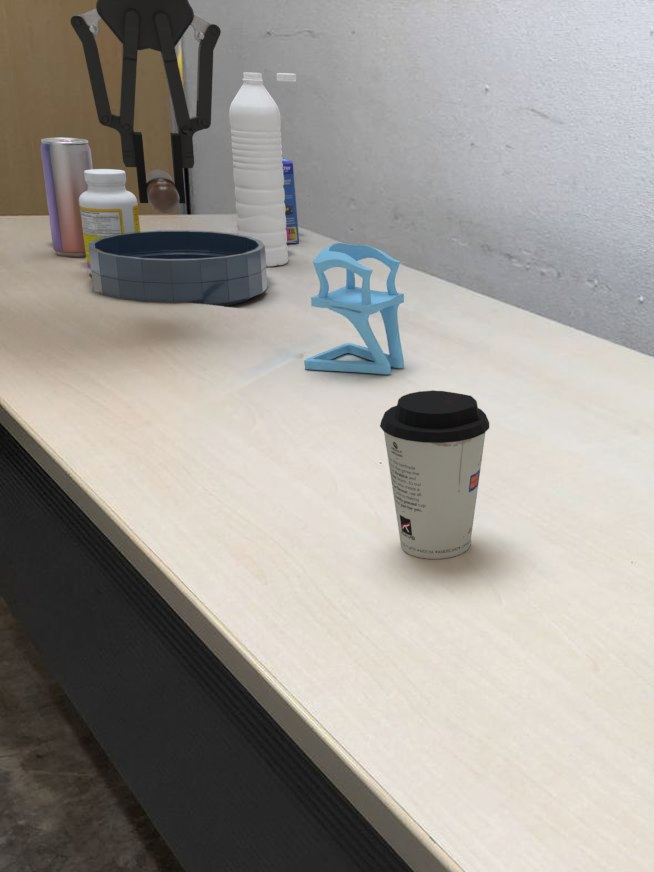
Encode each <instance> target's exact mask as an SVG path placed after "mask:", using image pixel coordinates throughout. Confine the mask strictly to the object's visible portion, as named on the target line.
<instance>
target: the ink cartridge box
mask: <svg viewBox="0 0 654 872" xmlns="http://www.w3.org/2000/svg"><path fill="white" fill-rule="evenodd" d="M282 158H283V161H282V163H283V167H282V169H283V175H284V185H283V188H284V192H285V200H284V203H285V216H286V228H285V229H286V232H287V243H286V245H287V244H298V243H299V242H300V232H299V231H300V230H299V219H298V208H297V206H298V205H297V194H296V182H295V170H294V161H293V160H291V159H287V158H284V157H282Z"/></svg>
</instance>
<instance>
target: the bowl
mask: <svg viewBox="0 0 654 872" xmlns="http://www.w3.org/2000/svg"><path fill="white" fill-rule="evenodd" d="M88 247H89V257H90V265H91V274H92V275H91V274H90V275H91V282H92V290H93V291H92V292H94V293H100V294H101V295H103V296H107V297H110V298H116V299H119V300H125V301H126V300H128V301H136V302H144V303H145V302H146V303H173V304H176V303H178V304H179V303H191V304H198V305H207V306H217V307H227V306H233V305H238V304H241V303H244V302H248V301H249V300H251V299H252V298H254V297H256V296H259V295H261V294H263V293H265V291H266V290H267V289H268V275H267V274H268V273H267V266H266V255H265V245H264V244H263V242H262V241H260V240H257V239H255V238H252V237H249V236H243V235H238V234H237V233H232V232H223V231H212V230H192V229H190V230H189V229H188V230H187V229H168V230H167V229H165V230H160V229H158V230H145V231H140V232H130V233H123V234H115V235H110V236H106V237H102V238H98V239H96V240H94V241H92V242H90V243H89V244H88Z"/></svg>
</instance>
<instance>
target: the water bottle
mask: <svg viewBox="0 0 654 872" xmlns="http://www.w3.org/2000/svg"><path fill="white" fill-rule="evenodd" d="M242 74H243V75H242V77H243V78H241V81H242V85H241V87H240V88H239V90H238V91H237V93H236V95H235V96H234V98H233V99H232V100H231V103H230V105H229V110H228V120H229V126H230V135H231V137H230V140H231V148H232V149H231V154H232V166H233V168H232V172H233V175H232V176H233V184H234V188H233V189H234V191H233V192H234V199H235V212H236V227H237V232H236V234H238V235H243V236H249V237H252V238H255V239H257V240H260V241H262V242H263V244H264V245H265V255H266V268H268V267H277V266H284V265H286V264H287V263H289V248H288V247H289V246H288V245H287V244H286V243H287V232H286V229H285V228H286V216H285V203H284V200H285V192H284V188H283V185H284V175H283V169H282V167H283V163H282V161H283V158H284V157H283V145H282V142H283V139H282V137H281V136H282V131H281V130H282V118H281V117H282V116H281V112H280V108H279V106H278V104H277V103H276V101H275V100H274V98H273V97H272V96H271V94H270V93H269V91H268V90H267V88H266V87H265V85H264V79H263V74H262V72H249V71H244V72H243V73H242ZM276 81H278V82H289V83H290V82H291V83H292V82H293V83H294V82H295V83H296V82H297V74H296V73H292V72H291V73H289V72H277V73H276Z"/></svg>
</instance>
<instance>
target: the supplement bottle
mask: <svg viewBox="0 0 654 872" xmlns="http://www.w3.org/2000/svg"><path fill="white" fill-rule="evenodd" d="M84 177H85V181H86V183H87V184H88V190H87V191H85V192H84V193H82V194H81V195H80V197H79V206H80V213H81V221H82V228H83V236H84V244H85V252H86V257H85V259H86V267H87V271H88V274H89V275H91V276H92V274H91V265H90V257H89V247H88V244H89V243H90V242H92V241H94V240H96V239H98V238H102V237H106V236H110V235H115V234H123V233H130V232H141V225H140V214H139V206H138V199H137V197H136V196H135V194H134V193H133V192H131V191H130V190H127V188H126V183H127V174H126V171H125V170H123V169H115V168H113V169H112V168H93V169H91V170H85V171H84Z"/></svg>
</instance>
